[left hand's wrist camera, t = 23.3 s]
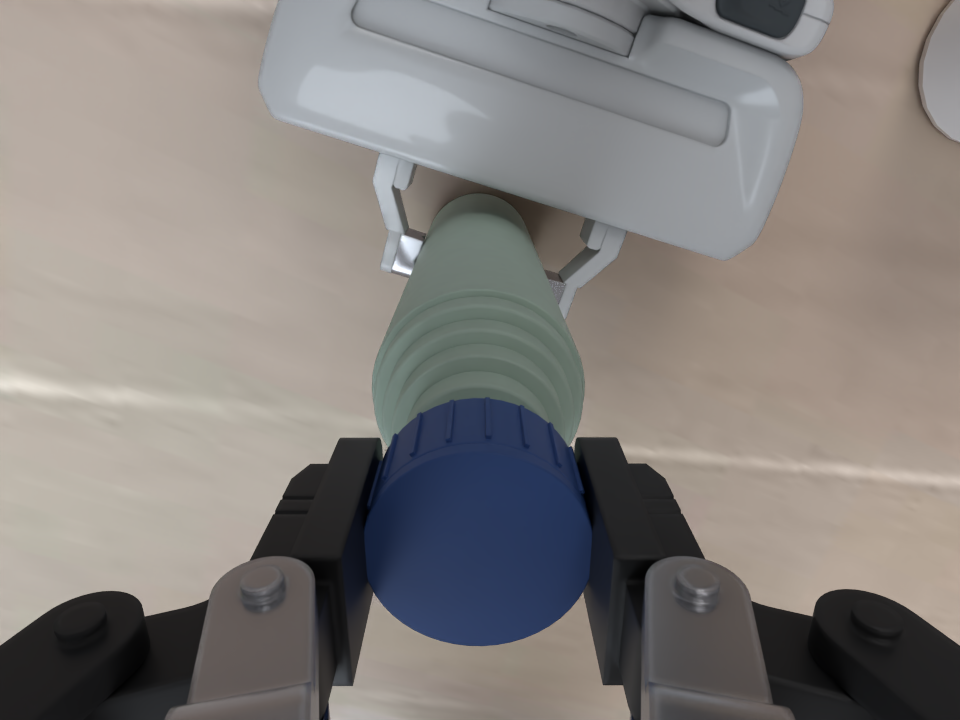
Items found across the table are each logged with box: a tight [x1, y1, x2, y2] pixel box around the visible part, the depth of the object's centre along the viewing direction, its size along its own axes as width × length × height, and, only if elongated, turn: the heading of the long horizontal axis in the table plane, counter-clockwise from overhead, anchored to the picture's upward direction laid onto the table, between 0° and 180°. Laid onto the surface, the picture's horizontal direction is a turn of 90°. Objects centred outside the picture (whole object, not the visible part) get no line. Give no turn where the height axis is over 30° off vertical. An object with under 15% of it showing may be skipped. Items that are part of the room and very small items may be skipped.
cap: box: [364, 397, 592, 646], centre depth 11 cm, size 4×4×2 cm
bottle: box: [372, 193, 585, 447], centre depth 23 cm, size 5×5×25 cm
